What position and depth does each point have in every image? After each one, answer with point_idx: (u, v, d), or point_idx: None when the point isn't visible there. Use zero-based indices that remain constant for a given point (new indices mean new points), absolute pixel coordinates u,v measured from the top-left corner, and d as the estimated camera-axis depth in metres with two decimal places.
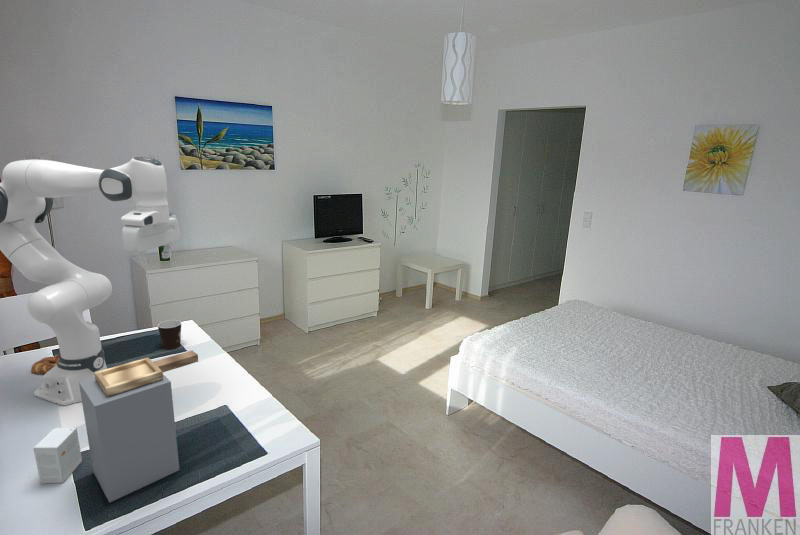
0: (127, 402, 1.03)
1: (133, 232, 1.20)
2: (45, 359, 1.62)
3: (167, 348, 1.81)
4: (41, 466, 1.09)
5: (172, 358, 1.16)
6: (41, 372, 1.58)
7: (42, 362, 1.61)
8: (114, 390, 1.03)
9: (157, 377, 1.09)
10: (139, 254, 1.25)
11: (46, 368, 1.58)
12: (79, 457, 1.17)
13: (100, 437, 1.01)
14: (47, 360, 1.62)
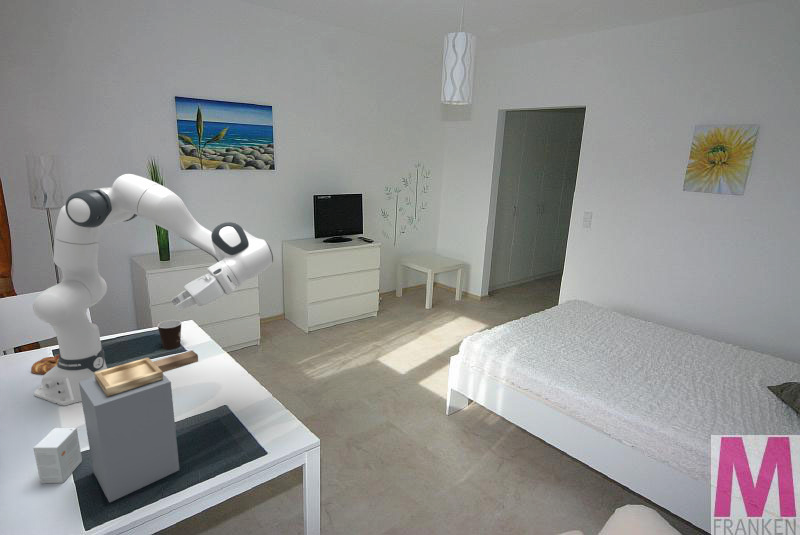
0: (127, 402, 1.03)
1: (219, 293, 1.17)
2: (45, 359, 1.62)
3: (167, 348, 1.81)
4: (41, 466, 1.09)
5: (172, 358, 1.16)
6: (41, 372, 1.58)
7: (42, 362, 1.61)
8: (114, 390, 1.03)
9: (157, 377, 1.09)
10: (190, 302, 1.16)
11: (46, 368, 1.58)
12: (79, 457, 1.17)
13: (100, 437, 1.01)
14: (47, 360, 1.62)
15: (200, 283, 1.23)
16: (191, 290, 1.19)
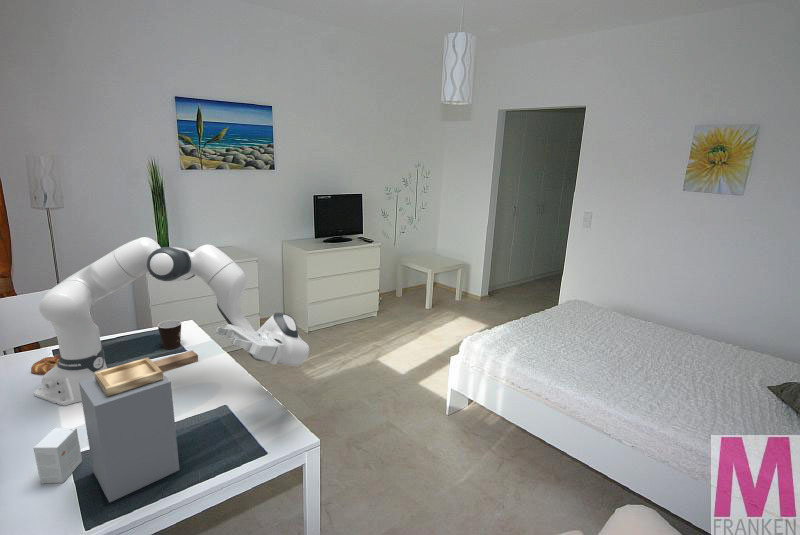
0: (127, 402, 1.03)
1: (270, 358, 1.27)
2: (45, 359, 1.62)
3: (167, 348, 1.81)
4: (41, 466, 1.09)
5: (172, 358, 1.16)
6: (41, 372, 1.58)
7: (42, 362, 1.61)
8: (114, 390, 1.03)
9: (157, 377, 1.09)
10: (247, 346, 1.24)
11: (46, 368, 1.58)
12: (79, 457, 1.17)
13: (100, 437, 1.01)
14: (47, 360, 1.62)
15: (253, 336, 1.32)
16: (249, 337, 1.28)
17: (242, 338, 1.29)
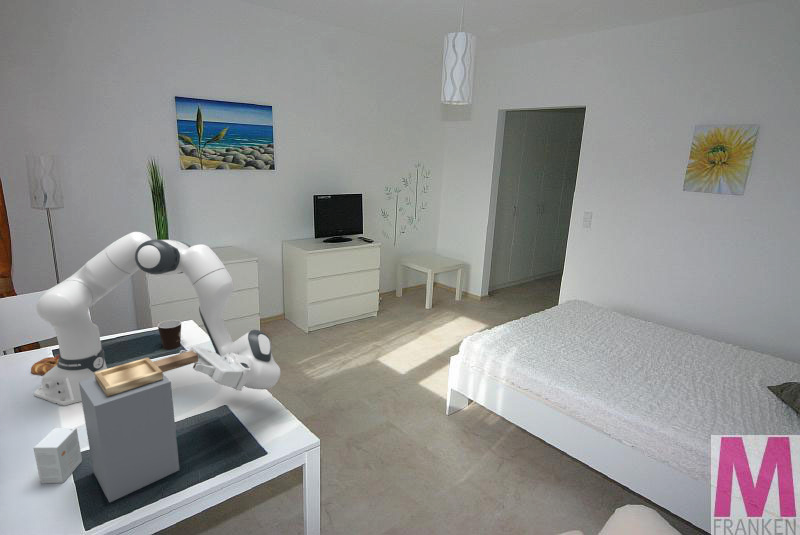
0: (127, 402, 1.03)
1: (235, 383, 1.21)
2: (45, 360, 1.62)
3: (167, 348, 1.81)
4: (41, 466, 1.09)
5: (172, 358, 1.16)
6: (41, 373, 1.57)
7: (42, 363, 1.60)
8: (114, 390, 1.03)
9: (157, 377, 1.09)
10: (209, 371, 1.17)
11: (46, 369, 1.58)
12: (79, 457, 1.17)
13: (100, 437, 1.01)
14: (47, 361, 1.62)
15: (218, 360, 1.25)
16: (213, 361, 1.21)
17: (206, 362, 1.23)
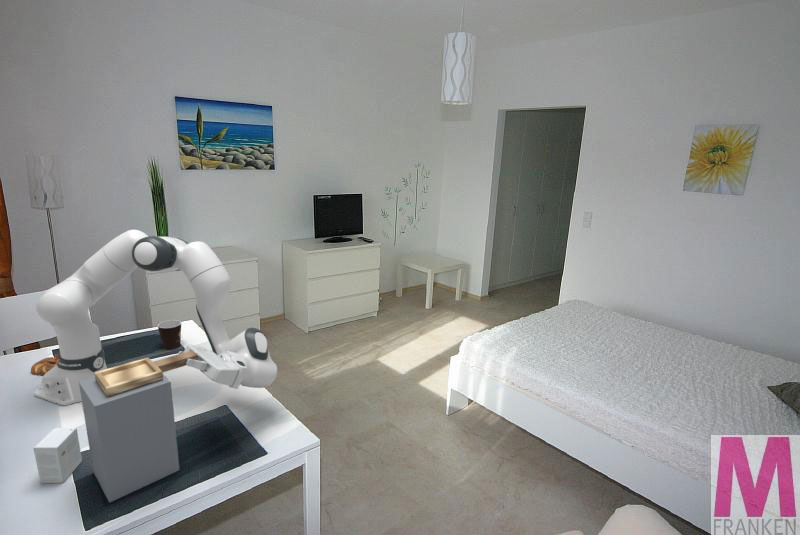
0: (127, 402, 1.03)
1: (231, 382, 1.19)
2: (45, 360, 1.62)
3: (167, 348, 1.81)
4: (41, 466, 1.09)
5: (172, 358, 1.16)
6: (41, 373, 1.57)
7: (42, 363, 1.60)
8: (114, 390, 1.03)
9: (157, 377, 1.09)
10: (201, 366, 1.18)
11: (46, 369, 1.58)
12: (79, 457, 1.17)
13: (100, 437, 1.01)
14: (47, 361, 1.62)
15: (214, 358, 1.24)
16: (209, 359, 1.20)
17: (202, 360, 1.22)
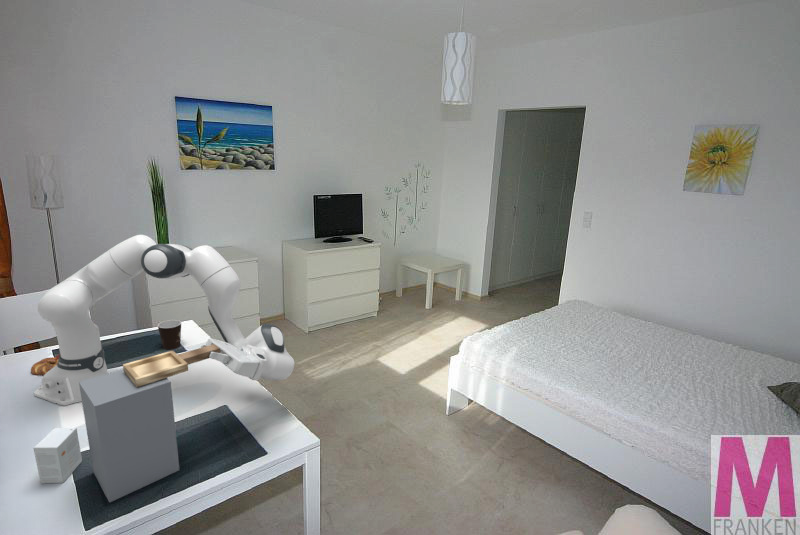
0: (127, 402, 1.03)
1: (252, 374, 1.24)
2: (45, 360, 1.62)
3: (167, 348, 1.81)
4: (41, 466, 1.09)
5: (196, 351, 1.21)
6: (41, 373, 1.57)
7: (42, 363, 1.60)
8: (143, 381, 1.07)
9: (183, 369, 1.14)
10: (224, 359, 1.22)
11: (46, 369, 1.58)
12: (79, 457, 1.17)
13: (100, 437, 1.01)
14: (47, 361, 1.62)
15: (235, 351, 1.29)
16: (230, 352, 1.25)
17: (223, 353, 1.26)
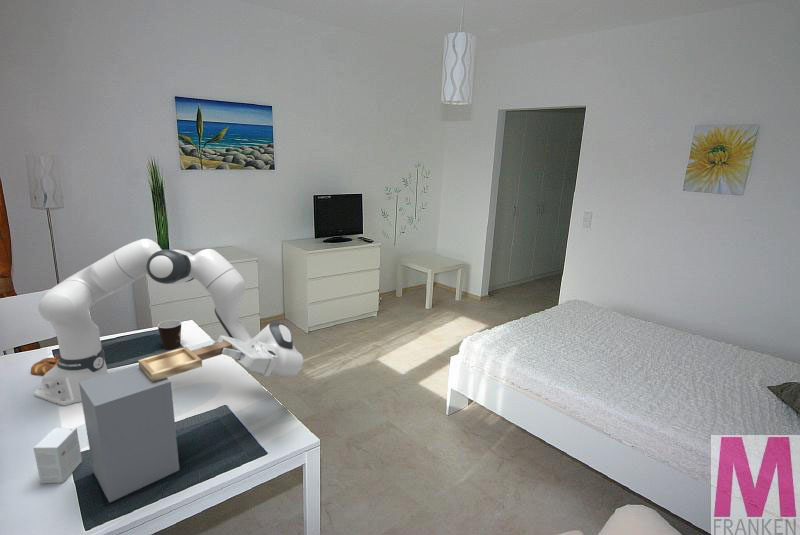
0: (127, 402, 1.03)
1: (263, 370, 1.26)
2: (45, 360, 1.62)
3: (167, 348, 1.81)
4: (41, 466, 1.09)
5: (208, 347, 1.23)
6: (40, 373, 1.57)
7: (42, 363, 1.60)
8: (159, 376, 1.09)
9: (197, 365, 1.16)
10: (236, 355, 1.25)
11: (46, 369, 1.58)
12: (79, 457, 1.17)
13: (100, 437, 1.01)
14: (47, 361, 1.62)
15: (246, 348, 1.31)
16: (242, 348, 1.27)
17: (235, 350, 1.29)
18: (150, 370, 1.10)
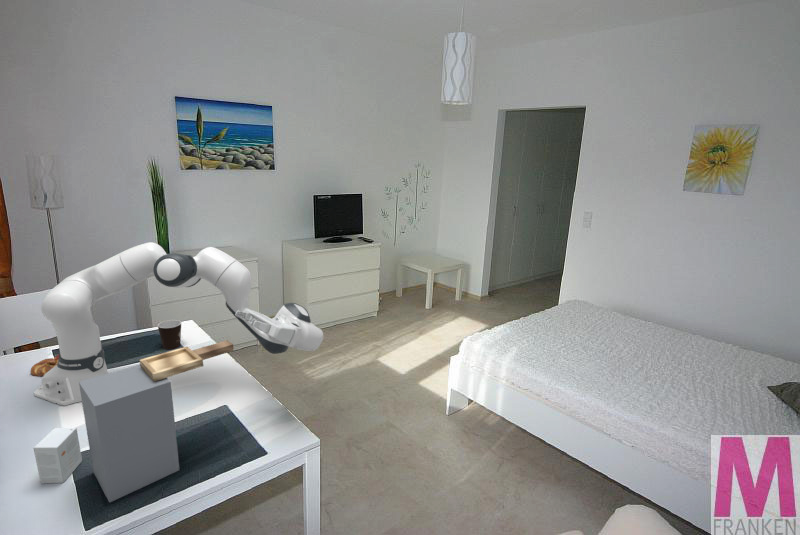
0: (127, 402, 1.03)
1: (288, 340, 1.30)
2: (44, 361, 1.61)
3: (167, 348, 1.81)
4: (41, 466, 1.09)
5: (210, 347, 1.23)
6: (40, 374, 1.56)
7: (41, 364, 1.59)
8: (160, 376, 1.10)
9: (198, 365, 1.16)
10: (266, 328, 1.27)
11: (45, 370, 1.57)
12: (79, 457, 1.17)
13: (100, 437, 1.01)
14: (46, 362, 1.61)
15: (271, 320, 1.35)
16: (268, 320, 1.31)
17: (260, 321, 1.33)
18: (151, 370, 1.10)
